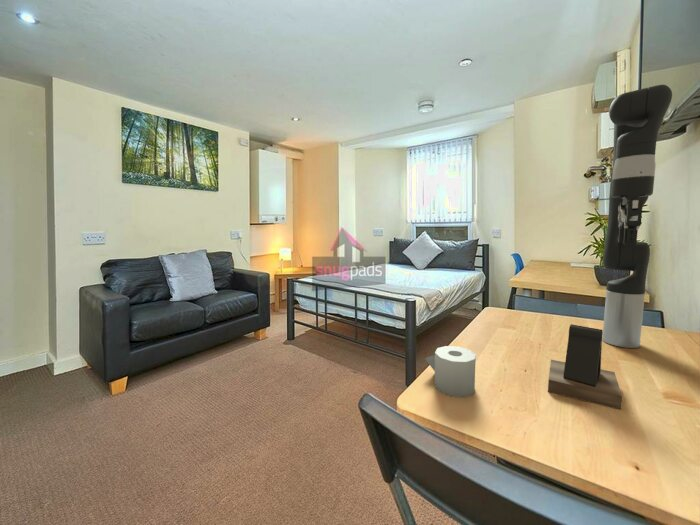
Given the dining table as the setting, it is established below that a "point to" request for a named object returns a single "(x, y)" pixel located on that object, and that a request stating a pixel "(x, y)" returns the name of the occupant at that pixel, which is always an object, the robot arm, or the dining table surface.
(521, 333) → the dining table surface
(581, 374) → the phone stand
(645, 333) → the dining table surface
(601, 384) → the walnut block
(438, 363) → the toilet tissue
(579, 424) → the dining table surface
